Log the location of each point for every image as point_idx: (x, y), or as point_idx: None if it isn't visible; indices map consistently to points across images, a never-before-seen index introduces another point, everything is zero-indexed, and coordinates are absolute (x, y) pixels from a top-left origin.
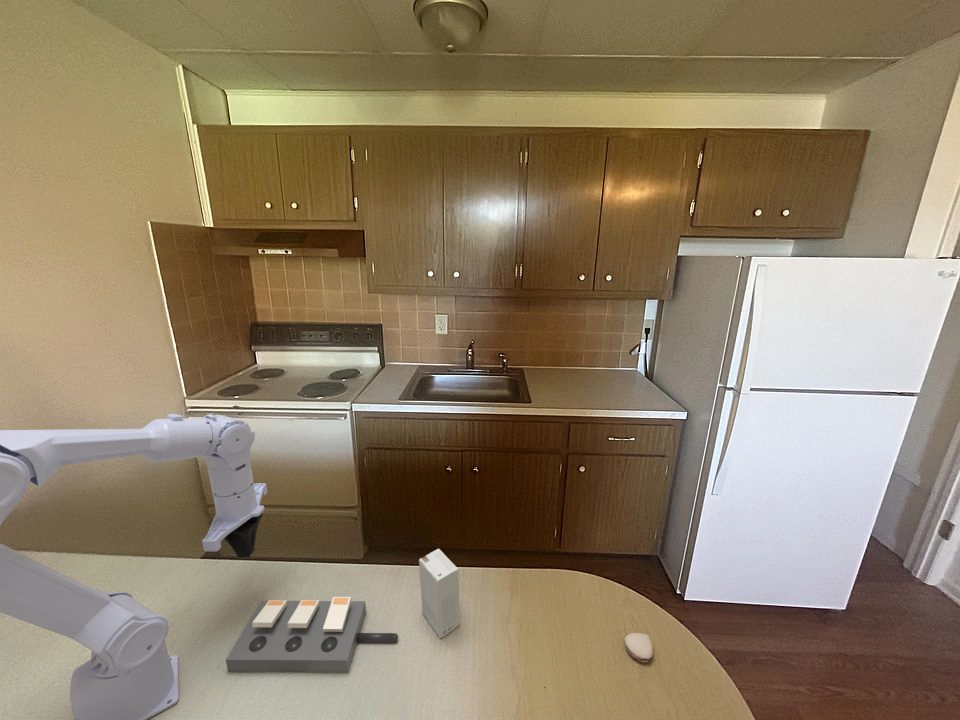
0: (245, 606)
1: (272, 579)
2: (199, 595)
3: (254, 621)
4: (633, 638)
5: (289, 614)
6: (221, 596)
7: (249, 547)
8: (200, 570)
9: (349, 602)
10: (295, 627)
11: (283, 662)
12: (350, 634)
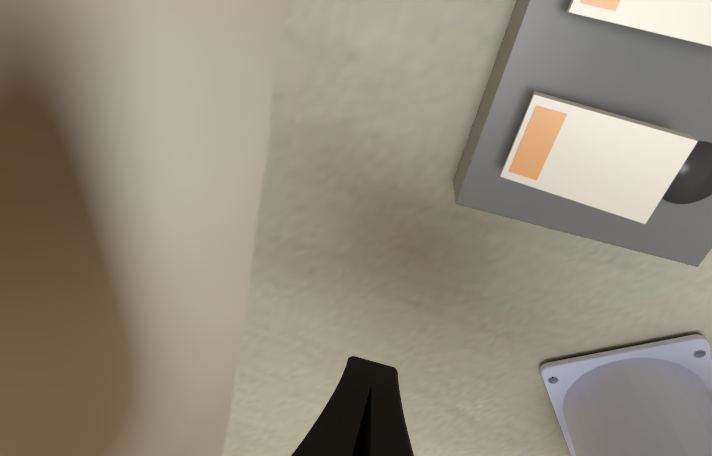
0: (411, 240)
1: (305, 178)
2: (335, 359)
3: (643, 216)
4: None
5: (588, 68)
6: (351, 311)
7: (403, 430)
8: (244, 374)
9: None
10: None
11: None
12: None
